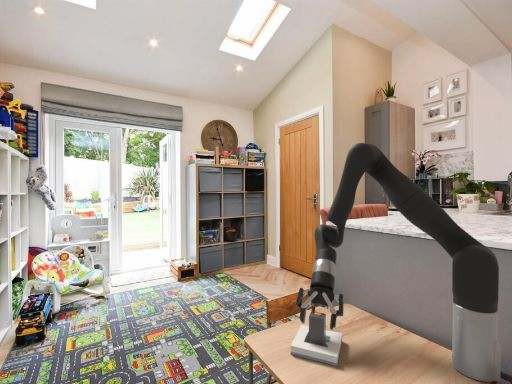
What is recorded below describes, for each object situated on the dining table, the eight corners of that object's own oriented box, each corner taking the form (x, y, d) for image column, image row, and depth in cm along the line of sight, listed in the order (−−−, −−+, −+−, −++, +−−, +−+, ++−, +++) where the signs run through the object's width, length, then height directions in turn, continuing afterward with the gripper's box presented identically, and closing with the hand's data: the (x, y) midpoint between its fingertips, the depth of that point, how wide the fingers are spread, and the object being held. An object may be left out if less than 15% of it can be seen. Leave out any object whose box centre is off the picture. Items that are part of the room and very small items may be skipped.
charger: (325, 343, 82) (325, 312, 82) (323, 349, 78) (324, 317, 78) (311, 339, 83) (311, 309, 83) (308, 346, 80) (309, 314, 80)
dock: (342, 341, 84) (342, 333, 84) (337, 366, 72) (337, 356, 72) (301, 332, 89) (301, 324, 89) (290, 354, 77) (290, 345, 77)
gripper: (300, 267, 90) (291, 315, 80) (345, 273, 85) (340, 325, 74) (304, 278, 95) (295, 325, 85) (346, 284, 89) (342, 335, 79)
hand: (316, 325), depth 79 cm, fingers open, 8 cm apart
